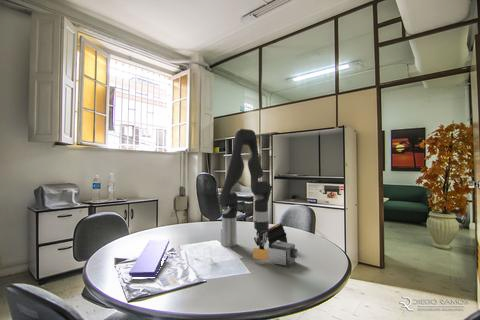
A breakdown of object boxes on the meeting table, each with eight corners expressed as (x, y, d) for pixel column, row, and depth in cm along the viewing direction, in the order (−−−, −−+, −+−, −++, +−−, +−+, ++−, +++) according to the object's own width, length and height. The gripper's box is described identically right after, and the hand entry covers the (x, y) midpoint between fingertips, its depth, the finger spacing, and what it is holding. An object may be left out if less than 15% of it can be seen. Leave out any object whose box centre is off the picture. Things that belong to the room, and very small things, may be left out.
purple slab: (169, 256, 130) (169, 238, 130) (155, 280, 102) (156, 257, 102) (148, 257, 129) (148, 239, 129) (128, 281, 101) (128, 258, 101)
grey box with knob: (271, 261, 120) (270, 242, 120) (277, 257, 125) (277, 239, 126) (293, 267, 112) (293, 247, 113) (299, 263, 118) (299, 243, 118)
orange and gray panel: (289, 266, 113) (289, 249, 114) (289, 267, 112) (289, 250, 112) (254, 260, 121) (253, 244, 121) (253, 261, 120) (253, 245, 120)
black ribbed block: (293, 246, 137) (282, 223, 138) (273, 256, 137) (262, 233, 137) (291, 244, 141) (280, 222, 142) (272, 254, 141) (261, 232, 141)
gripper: (260, 216, 129) (260, 247, 129) (249, 221, 118) (249, 255, 118) (272, 217, 126) (273, 250, 125) (262, 223, 114) (262, 258, 114)
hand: (261, 252), depth 121 cm, fingers closed
